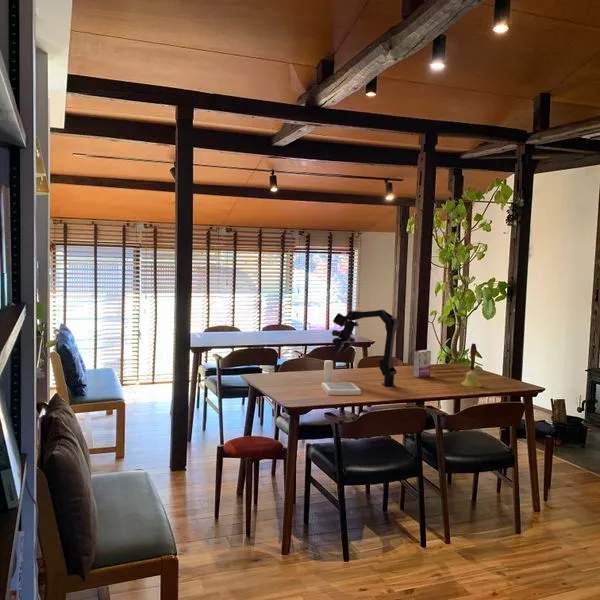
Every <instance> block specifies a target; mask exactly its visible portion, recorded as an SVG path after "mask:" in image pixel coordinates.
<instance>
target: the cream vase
mask: <svg viewBox="0 0 600 600" xmlns="http://www.w3.org/2000/svg"><path fill="white" fill-rule="evenodd" d="M323 365H324V366H323V383H333V371H334V369H333V368H334V360H329V359H328V360H326V359H325V360H324V363H323Z"/></svg>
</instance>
